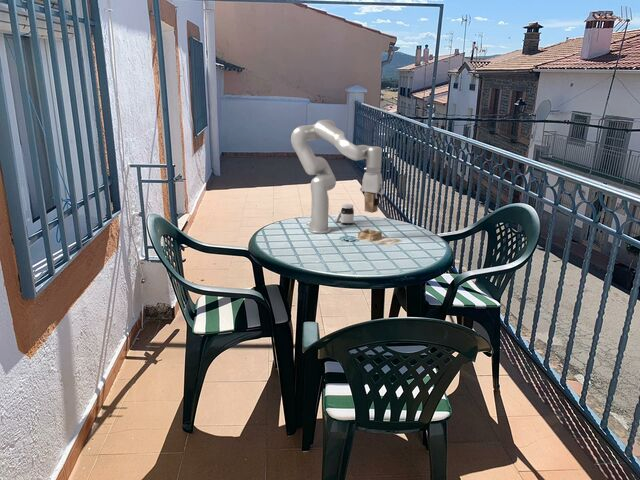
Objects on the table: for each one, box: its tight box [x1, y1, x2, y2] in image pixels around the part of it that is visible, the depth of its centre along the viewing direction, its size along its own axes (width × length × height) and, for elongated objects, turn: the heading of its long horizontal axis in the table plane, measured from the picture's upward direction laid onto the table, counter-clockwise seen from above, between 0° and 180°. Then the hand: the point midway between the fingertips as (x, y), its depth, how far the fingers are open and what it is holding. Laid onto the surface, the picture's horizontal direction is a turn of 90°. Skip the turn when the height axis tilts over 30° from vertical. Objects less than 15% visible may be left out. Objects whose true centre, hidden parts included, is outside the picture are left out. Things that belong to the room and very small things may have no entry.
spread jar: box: [334, 203, 355, 226], centre depth 303 cm, size 12×11×12 cm
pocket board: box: [354, 228, 404, 247], centre depth 269 cm, size 22×14×4 cm, turn 52°
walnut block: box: [364, 192, 379, 214], centre depth 267 cm, size 5×5×10 cm
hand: (371, 204), depth 267 cm, fingers closed on walnut block, 5 cm apart
